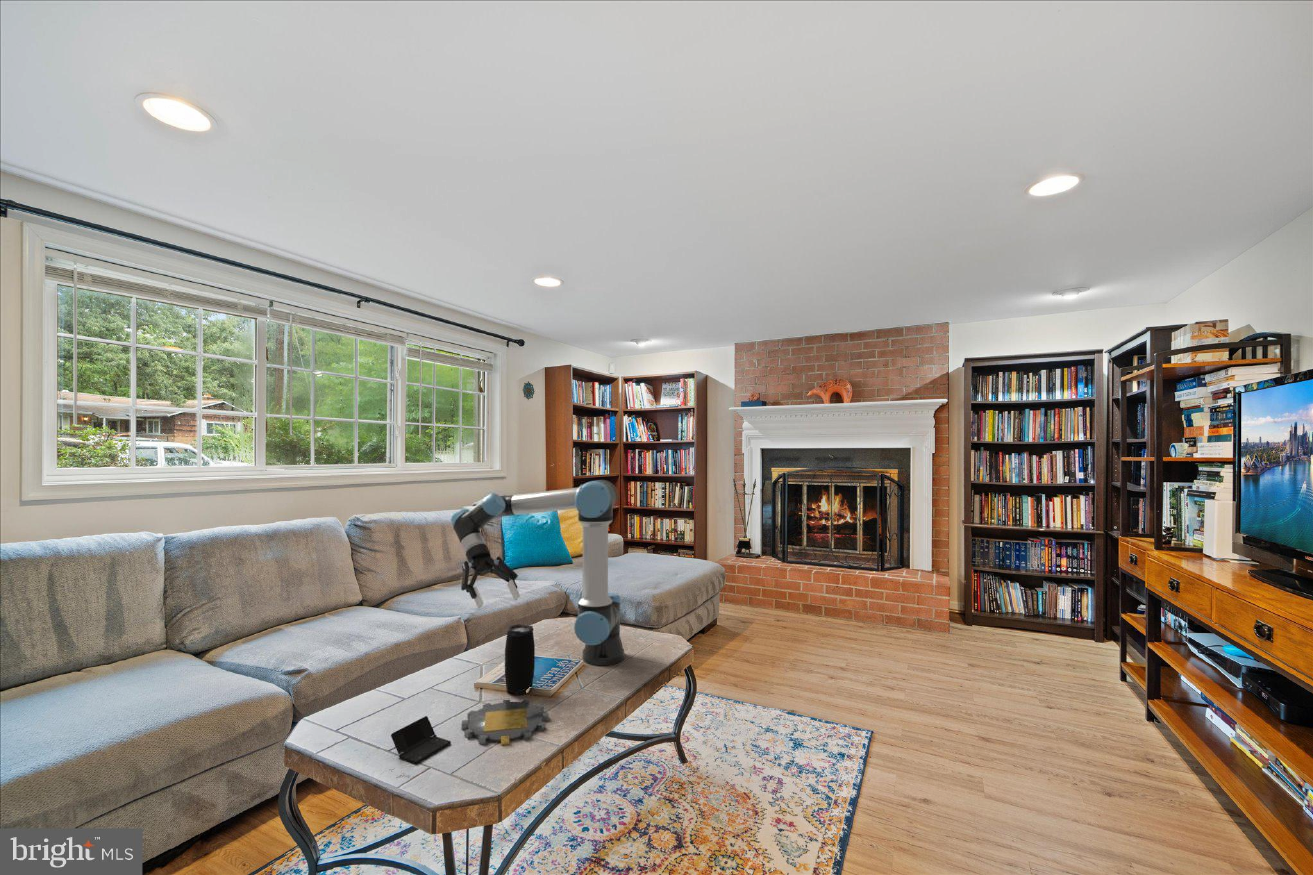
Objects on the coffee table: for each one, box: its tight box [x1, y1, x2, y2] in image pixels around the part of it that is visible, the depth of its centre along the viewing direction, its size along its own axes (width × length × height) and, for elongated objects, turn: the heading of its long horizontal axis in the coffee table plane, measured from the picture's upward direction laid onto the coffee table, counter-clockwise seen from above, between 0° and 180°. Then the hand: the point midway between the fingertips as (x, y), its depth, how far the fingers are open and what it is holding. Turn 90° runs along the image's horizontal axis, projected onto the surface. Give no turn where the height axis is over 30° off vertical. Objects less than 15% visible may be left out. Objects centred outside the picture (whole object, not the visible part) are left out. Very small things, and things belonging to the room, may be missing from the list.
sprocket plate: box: [461, 699, 550, 746], centre depth 156 cm, size 23×23×2 cm
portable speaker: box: [504, 624, 536, 697], centre depth 177 cm, size 9×9×20 cm
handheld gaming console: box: [390, 715, 452, 766], centre depth 142 cm, size 12×7×10 cm
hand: (499, 602), depth 185 cm, fingers open, 13 cm apart
